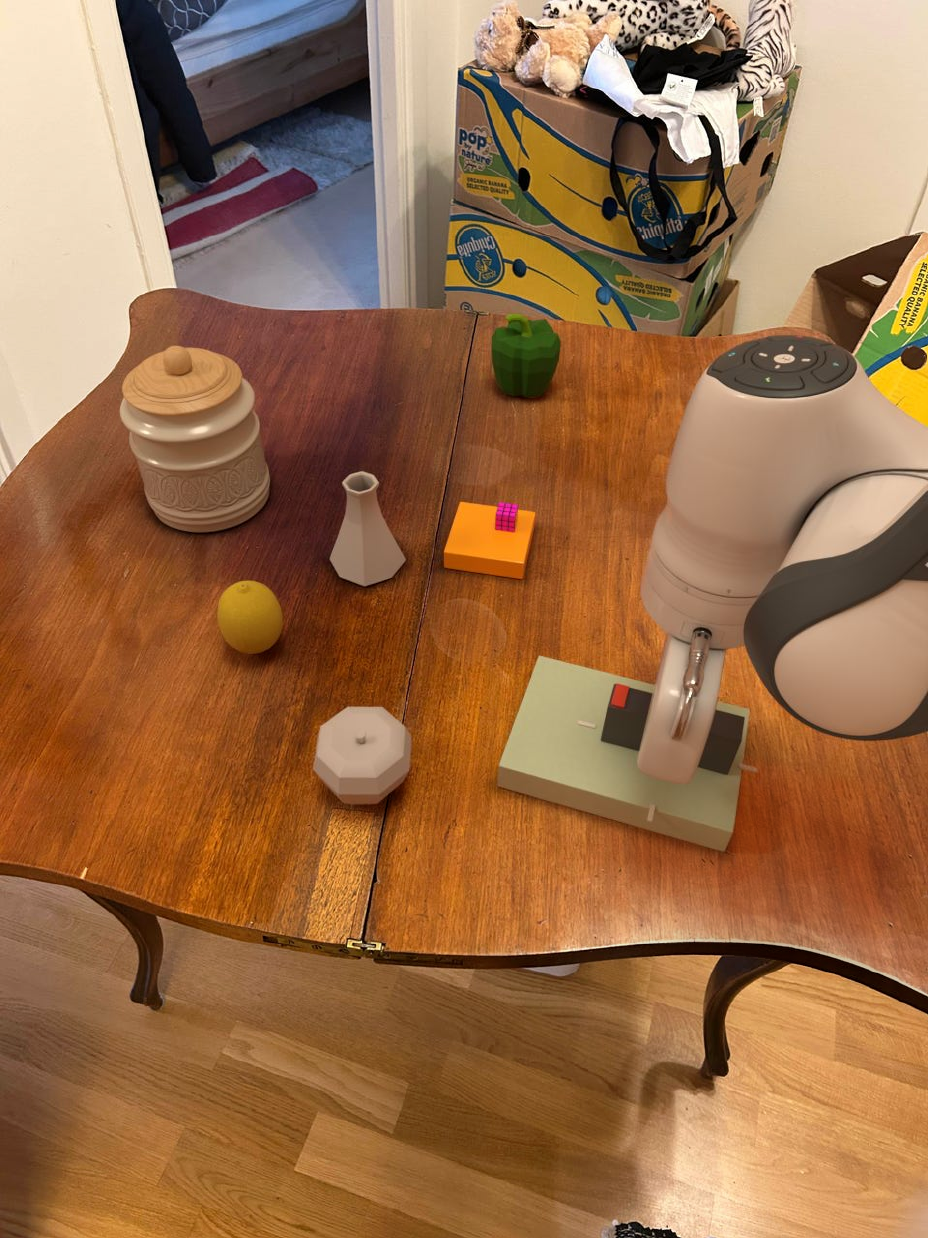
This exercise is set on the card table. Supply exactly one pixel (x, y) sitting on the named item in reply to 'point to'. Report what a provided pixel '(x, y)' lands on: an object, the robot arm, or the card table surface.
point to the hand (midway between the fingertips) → (671, 711)
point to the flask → (365, 536)
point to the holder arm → (630, 721)
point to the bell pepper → (525, 356)
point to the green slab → (609, 761)
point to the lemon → (249, 617)
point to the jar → (196, 439)
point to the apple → (362, 754)
